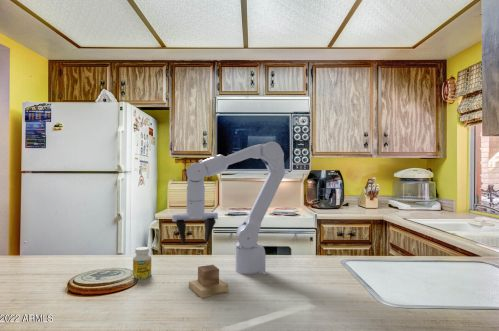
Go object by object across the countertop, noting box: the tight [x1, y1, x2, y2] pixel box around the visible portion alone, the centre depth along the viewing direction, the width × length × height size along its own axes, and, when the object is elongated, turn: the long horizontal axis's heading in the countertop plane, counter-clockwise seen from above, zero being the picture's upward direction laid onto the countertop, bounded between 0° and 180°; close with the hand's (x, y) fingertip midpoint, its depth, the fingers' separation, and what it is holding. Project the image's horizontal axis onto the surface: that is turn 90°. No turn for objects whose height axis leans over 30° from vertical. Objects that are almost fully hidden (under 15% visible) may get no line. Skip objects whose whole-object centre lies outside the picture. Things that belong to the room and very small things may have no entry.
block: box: [197, 264, 220, 287], centre depth 85 cm, size 4×4×4 cm
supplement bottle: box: [132, 246, 152, 280], centre depth 95 cm, size 5×5×10 cm
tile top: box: [188, 278, 229, 299], centre depth 85 cm, size 8×8×2 cm
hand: (195, 242), depth 100 cm, fingers open, 7 cm apart
